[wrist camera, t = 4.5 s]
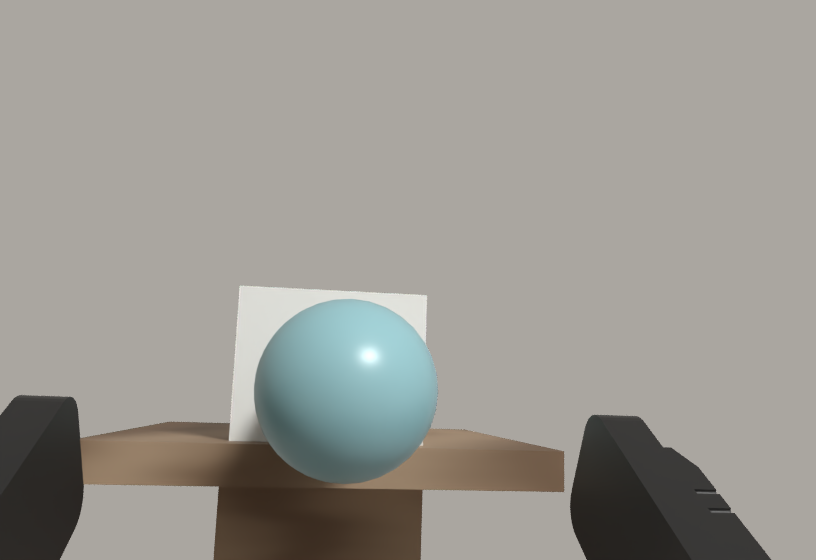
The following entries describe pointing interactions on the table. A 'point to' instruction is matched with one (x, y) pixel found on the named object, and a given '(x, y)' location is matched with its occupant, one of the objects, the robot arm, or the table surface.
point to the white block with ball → (333, 379)
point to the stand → (314, 487)
